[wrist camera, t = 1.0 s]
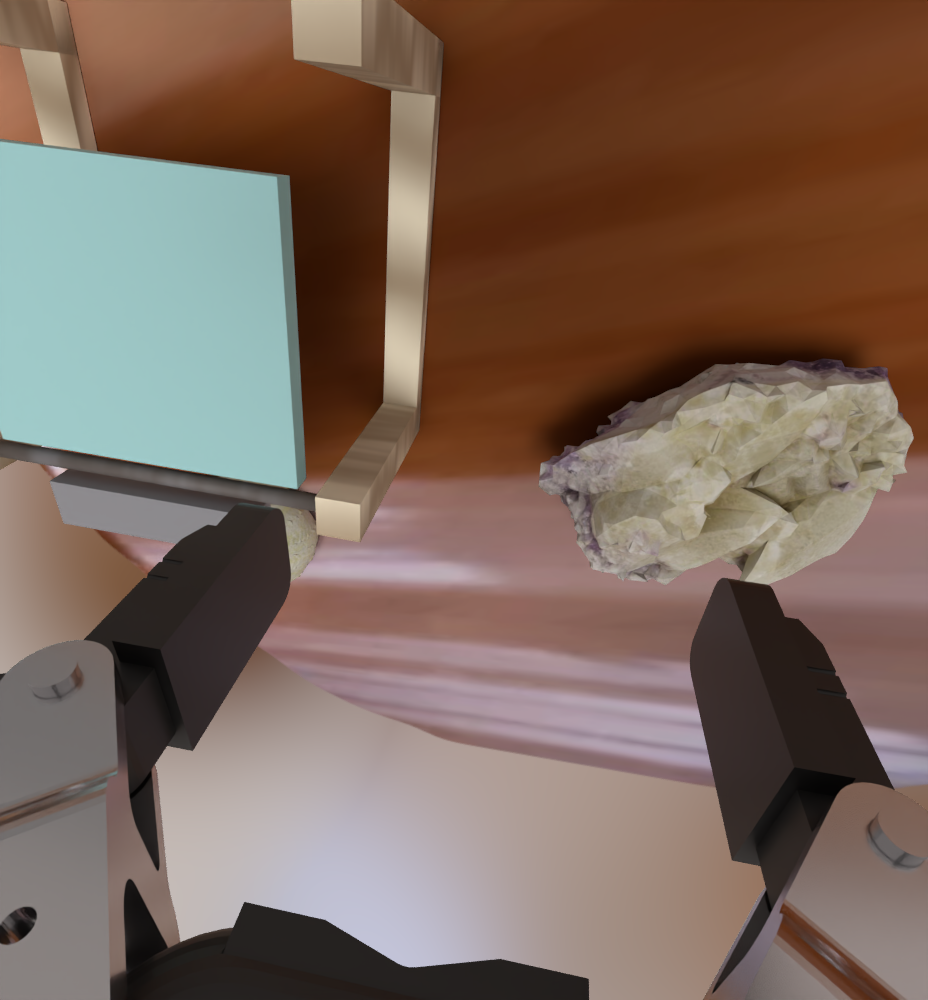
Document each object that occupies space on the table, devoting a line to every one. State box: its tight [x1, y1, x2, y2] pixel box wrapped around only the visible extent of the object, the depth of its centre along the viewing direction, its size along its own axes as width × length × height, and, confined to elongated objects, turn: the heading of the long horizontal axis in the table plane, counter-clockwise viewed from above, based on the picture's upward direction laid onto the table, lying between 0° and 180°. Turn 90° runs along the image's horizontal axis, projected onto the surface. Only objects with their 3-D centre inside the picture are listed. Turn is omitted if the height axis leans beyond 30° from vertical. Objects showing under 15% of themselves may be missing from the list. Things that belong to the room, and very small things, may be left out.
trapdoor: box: [0, 139, 306, 544], centre depth 24 cm, size 16×14×2 cm
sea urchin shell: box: [219, 476, 318, 582], centre depth 40 cm, size 9×8×8 cm
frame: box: [0, 0, 444, 542], centre depth 26 cm, size 19×20×12 cm
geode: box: [539, 359, 914, 585], centre depth 31 cm, size 17×9×15 cm
